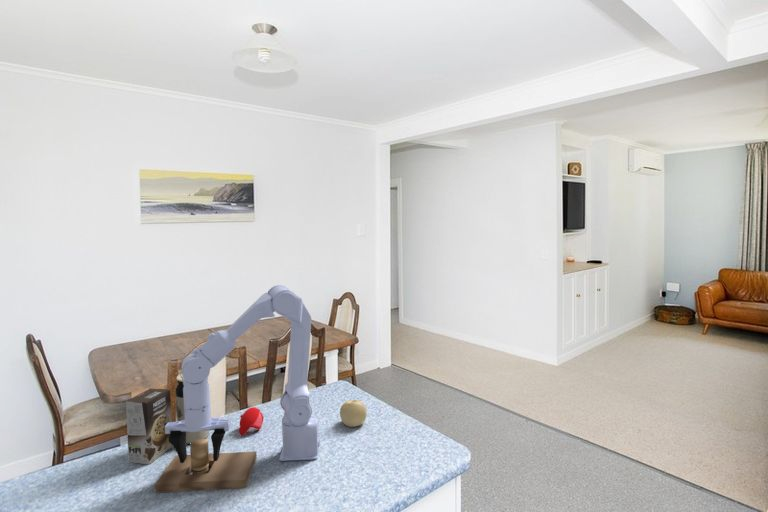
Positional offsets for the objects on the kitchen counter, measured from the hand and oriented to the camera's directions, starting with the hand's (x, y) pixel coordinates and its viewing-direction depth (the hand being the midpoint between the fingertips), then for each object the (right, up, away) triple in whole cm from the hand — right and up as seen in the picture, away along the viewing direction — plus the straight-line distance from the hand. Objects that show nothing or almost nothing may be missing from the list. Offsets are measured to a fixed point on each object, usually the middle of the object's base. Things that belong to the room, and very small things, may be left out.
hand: (200, 459), depth 105 cm
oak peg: (0, -4, 0) cm, 4 cm away
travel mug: (-10, -3, +19) cm, 21 cm away
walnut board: (+2, -4, 0) cm, 4 cm away
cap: (+5, -2, +23) cm, 23 cm away
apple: (+35, -2, +26) cm, 44 cm away
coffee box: (-17, -3, +10) cm, 20 cm away
